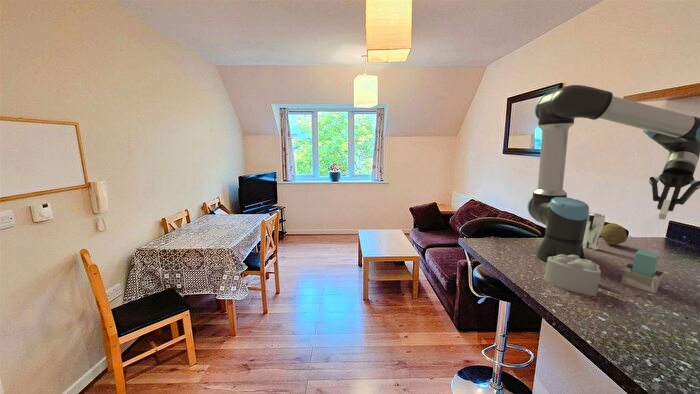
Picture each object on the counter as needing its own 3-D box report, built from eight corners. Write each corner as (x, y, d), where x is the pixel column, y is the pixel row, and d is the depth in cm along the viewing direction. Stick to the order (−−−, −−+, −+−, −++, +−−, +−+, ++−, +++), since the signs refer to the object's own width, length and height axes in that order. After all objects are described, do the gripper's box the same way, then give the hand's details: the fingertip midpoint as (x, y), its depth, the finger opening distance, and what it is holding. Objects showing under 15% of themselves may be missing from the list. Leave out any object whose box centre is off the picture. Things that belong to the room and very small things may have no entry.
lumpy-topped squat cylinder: (597, 297, 81) (603, 269, 80) (543, 283, 89) (547, 257, 87) (594, 284, 90) (599, 258, 88) (545, 272, 97) (549, 248, 96)
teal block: (632, 278, 91) (639, 249, 90) (651, 284, 88) (659, 253, 86) (628, 283, 88) (635, 253, 86) (648, 289, 84) (656, 258, 83)
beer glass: (597, 247, 124) (603, 214, 121) (600, 252, 118) (607, 217, 116) (577, 243, 128) (583, 211, 125) (579, 248, 122) (585, 214, 119)
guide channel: (624, 273, 98) (627, 257, 97) (666, 284, 91) (671, 267, 90) (614, 286, 89) (617, 268, 88) (660, 300, 81) (665, 281, 80)
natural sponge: (591, 241, 132) (595, 220, 130) (609, 241, 133) (613, 220, 131) (611, 248, 123) (615, 226, 122) (629, 248, 124) (634, 226, 122)
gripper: (706, 176, 101) (690, 227, 94) (653, 172, 111) (635, 218, 104) (709, 161, 96) (693, 214, 90) (654, 158, 107) (636, 206, 100)
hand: (662, 216), depth 97 cm, fingers closed
